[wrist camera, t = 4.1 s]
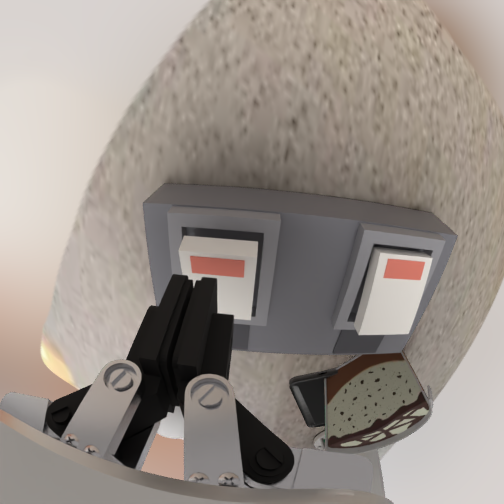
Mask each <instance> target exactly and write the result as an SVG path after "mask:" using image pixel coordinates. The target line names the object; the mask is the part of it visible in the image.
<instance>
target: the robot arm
mask: <svg viewBox="0 0 504 504" xmlns="http://www.w3.org/2000/svg"><path fill="white" fill-rule="evenodd" d="M233 329H234V315H231V314H220V313H218V306H217V278H210V277H202V279H201V280H196V282H195V285H194V286H193V280H190V279H188V276H187V275H178V274H173V275H172V277H171V279H170V281H169V283H168V286H167V288H166V290H165V292H164V295H163V297H162V299H161V302H160V304H159V306H152V305H151V306H150V307H149V308H148V310H147V312H146V315H145V317H144V319H143V321H142V324H141V326H140V328H139V330H138V333H137V335H136V337H135V340H134V342H133V344H132V347H131V349H130V351H129V354H128V356H127V359H126V360H124V359H120V360H114V361H111V362H110V363H108V364H106V365H105V366H104V368H103V369H102V370H101V371H100V373H99V375H98V376H97V378H96V379H95V381H94V383H93V384H91V385H89V386H87V387H85V388H82V389H80V390H78V391H76V392H73V393H71V394H69V395H67V396H64V397H62V398H59V399H57V400H55V401H54V402H52V401H50V400H49V399H46V398H40V397H35V396H29V395H24V394H20V393H15V392H10V393H8V394H6V395H5V396H4V397H3V399H2V401H1V403H0V504H393V502H392V501H390V500H389V499H387V498H385V491H384V485H383V477H382V472H381V465H380V459H379V453H378V449H376V450H372V451H368V452H364V453H358V454H345V453H336V452H328V451H325V450H324V449H323V447H322V444H321V441H320V438H323V439H325V431H324V432H322V433H320V434H319V435H317V436H316V437H315V439H314V446H315V447H316V448H317V449H320V450H314V449H308V448H303V449H297V448H292V447H288V445H287V444H285V443H284V442H283V441H282V440H281V439H279V438H278V437H277V436H276V435H275V434H274V433H272V432H271V431H270V430H269V429H268V428H267V427H266V426H264V425H263V424H262V423H261V422H260V421H259V420H258V419H257V418H256V417H254V416H253V415H252V414H251V413H250V412H249V411H248V410H247V409H246V408H245V407H244V406H243V405H242V404H241V403H240V402H239V401H238V400H236V399H235V393H234V389H233V386H232V385H231V384H230V382H229V381H228V378H229V370H230V361H231V352H232V343H233ZM175 406H178V407H179V406H180V409H181V412H182V415H183V418H184V480H178V479H173V478H168V477H164V476H159V475H155V474H150V473H147V472H143V471H141V468H142V466H143V464H144V461H145V459H146V456H147V454H148V452H149V449H150V447H151V445H152V442H153V440H154V438H155V435H156V433H157V431H158V428H159V426H160V422H161V420H162V419H164V418H166V417H167V413H168V412H170V413H174V410H175ZM321 450H323V451H321ZM244 484H245V485H246V486H248V487H249V488H245V486H244Z"/></svg>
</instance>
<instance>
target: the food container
mask: <svg viewBox="0 0 504 504" xmlns="http://www.w3.org/2000/svg"><path fill="white" fill-rule="evenodd" d="M337 369H338V373H337V374H335V375H333V376H330V377H328V378H325V379H324V393H325V439H323V438H320V441H321V444H322V447H323V449H324V450H325V451H328V452H336V453H345V454H358V453H364V452H368V451H372V450H376V449H379V448H382V447H385V446H388V445H390V444H393V443H395V442H397V441H399V440H402V439H403V438H405V437H407V436H409V435H411V434H412V433H414V432H415V431H417V430H418V429H419V428H421V427H422V426H423V425H424V424H425V423H426V422H427V421H428V419H429V418H430V417H431V415H432V408H433V399H432V391H431V388H430V386H429V385H428V386H427V387H428V395H429V398H428V397H427V395H426V393H425V391H424V389H423V387H422V386H421V384H420V382H419V380H418V378H417V376H416V374H415V372H414V370H413V368H412V367H411V365H410V363H409V361H408V359H407V357H406V356H405V354H404V352H403V350H402V352H401V353H385V354H358V355H357V356H355V357H354V358H352V359H350V360H349V361H347V362H345V363H344V364H342V365H340V366H338V367H337V368H336V370H337Z"/></svg>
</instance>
